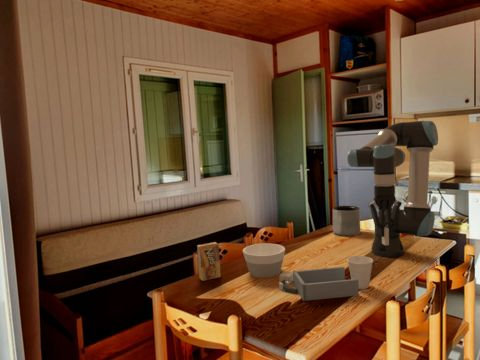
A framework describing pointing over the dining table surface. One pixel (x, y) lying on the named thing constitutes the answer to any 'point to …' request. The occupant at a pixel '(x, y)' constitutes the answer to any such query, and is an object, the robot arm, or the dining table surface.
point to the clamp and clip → (287, 277)
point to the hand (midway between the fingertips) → (385, 244)
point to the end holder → (324, 283)
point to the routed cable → (289, 288)
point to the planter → (346, 220)
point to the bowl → (264, 259)
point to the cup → (360, 270)
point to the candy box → (208, 261)
